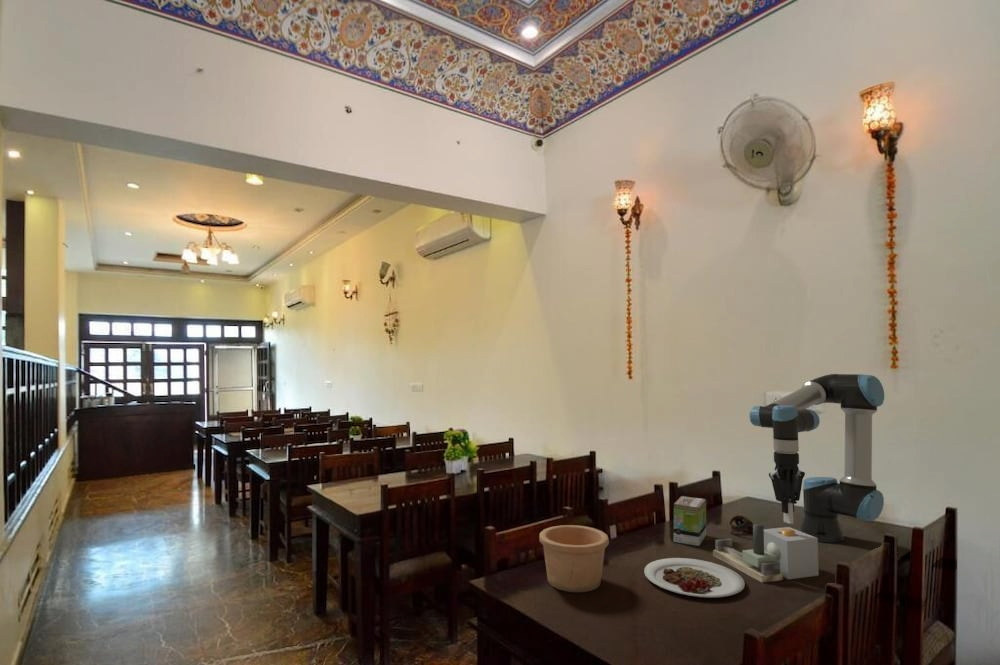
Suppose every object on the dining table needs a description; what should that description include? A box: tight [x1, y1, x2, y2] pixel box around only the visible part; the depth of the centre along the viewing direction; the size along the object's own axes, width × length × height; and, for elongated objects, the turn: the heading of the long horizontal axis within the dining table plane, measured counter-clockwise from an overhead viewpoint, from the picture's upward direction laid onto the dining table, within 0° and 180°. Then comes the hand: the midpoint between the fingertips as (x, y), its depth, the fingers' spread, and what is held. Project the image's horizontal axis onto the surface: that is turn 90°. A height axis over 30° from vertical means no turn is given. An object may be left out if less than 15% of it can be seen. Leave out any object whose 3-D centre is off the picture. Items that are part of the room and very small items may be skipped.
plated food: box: [643, 557, 746, 598], centre depth 171 cm, size 30×30×3 cm
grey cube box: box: [764, 526, 820, 580], centre depth 179 cm, size 12×12×12 cm
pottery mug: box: [728, 514, 754, 534], centre depth 218 cm, size 12×10×8 cm
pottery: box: [538, 524, 610, 594], centre depth 170 cm, size 22×22×14 cm
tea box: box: [673, 495, 707, 547], centre depth 211 cm, size 15×10×15 cm
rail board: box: [712, 537, 784, 584], centre depth 182 cm, size 8×24×6 cm, turn 15°
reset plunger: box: [781, 529, 795, 537], centre depth 179 cm, size 4×4×8 cm
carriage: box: [741, 523, 776, 567], centre depth 176 cm, size 7×7×12 cm
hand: (788, 522), depth 180 cm, fingers closed
